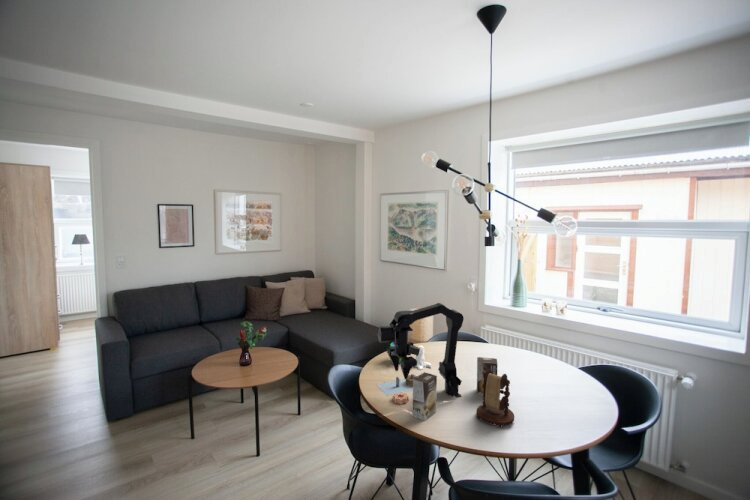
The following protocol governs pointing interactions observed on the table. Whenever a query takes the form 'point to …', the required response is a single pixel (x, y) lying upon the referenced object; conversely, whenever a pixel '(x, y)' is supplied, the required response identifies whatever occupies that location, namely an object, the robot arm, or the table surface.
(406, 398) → the salmon gear
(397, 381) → the metal gear peg
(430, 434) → the table surface
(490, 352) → the table surface
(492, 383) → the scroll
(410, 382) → the walnut gear
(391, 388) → the gear board
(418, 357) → the seated beast figurine
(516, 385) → the table surface
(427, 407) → the coffee box
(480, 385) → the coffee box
